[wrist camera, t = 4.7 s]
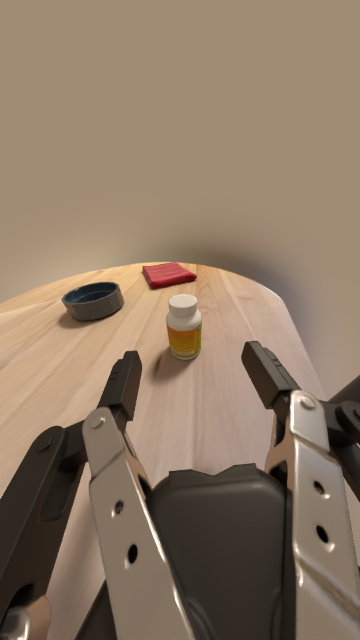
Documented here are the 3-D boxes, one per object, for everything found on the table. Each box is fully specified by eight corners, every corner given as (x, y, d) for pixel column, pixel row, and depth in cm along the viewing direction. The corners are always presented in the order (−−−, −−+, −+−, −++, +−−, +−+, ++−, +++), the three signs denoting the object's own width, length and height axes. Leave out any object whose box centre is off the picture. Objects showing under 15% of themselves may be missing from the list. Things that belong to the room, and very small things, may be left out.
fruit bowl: (122, 293, 46) (117, 278, 43) (126, 313, 36) (120, 295, 33) (76, 303, 42) (68, 287, 39) (67, 328, 32) (54, 310, 29)
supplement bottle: (202, 360, 23) (205, 309, 17) (169, 361, 23) (161, 311, 17) (199, 337, 27) (200, 290, 21) (171, 338, 27) (165, 292, 22)
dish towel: (151, 290, 46) (150, 282, 45) (142, 271, 65) (140, 265, 63) (198, 280, 51) (198, 273, 49) (176, 265, 69) (176, 259, 67)
